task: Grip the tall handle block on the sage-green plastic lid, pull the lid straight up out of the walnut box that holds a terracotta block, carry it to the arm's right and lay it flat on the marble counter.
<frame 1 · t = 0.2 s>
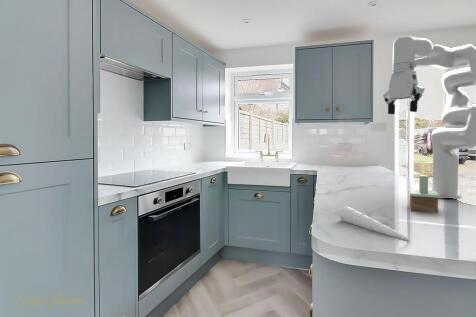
hand: (401, 112, 122), 37 cm above the table, tool pointing down, fingers open, 9 cm apart
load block: (422, 209, 111), point 1 cm above the table, touching box
lid: (423, 194, 111), point 6 cm above the table, touching box
box: (422, 210, 111), on the table
unicorn horn: (371, 230, 88), on the table
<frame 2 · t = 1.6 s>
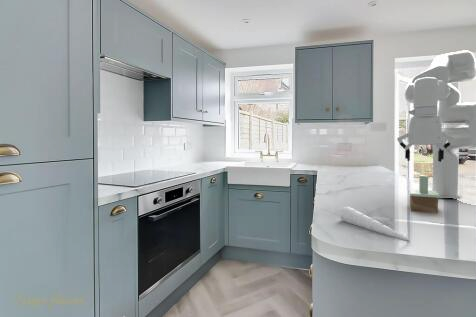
hand: (423, 161, 110), 18 cm above the table, tool pointing down, fingers open, 9 cm apart
nothing on the table moved.
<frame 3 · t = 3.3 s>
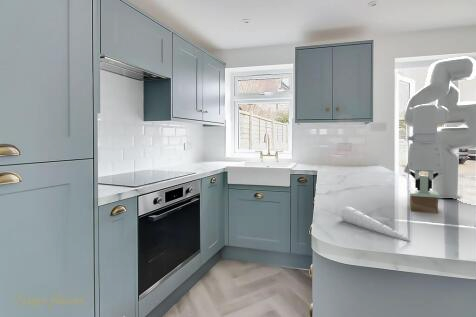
hand: (423, 190, 111), 8 cm above the table, tool pointing down, fingers closed on lid
lid: (423, 194, 111), point 6 cm above the table, touching gripper
everything else where it was.
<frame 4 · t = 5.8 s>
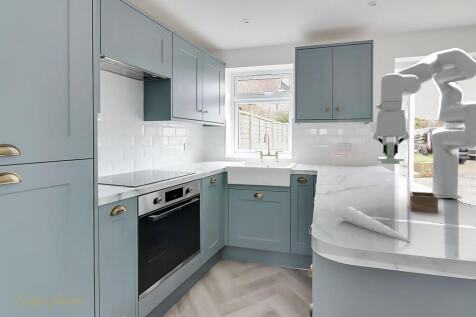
hand: (390, 155, 118), 20 cm above the table, tool pointing down, fingers closed on lid
lid: (390, 159, 118), point 18 cm above the table, touching gripper
everything else where it was.
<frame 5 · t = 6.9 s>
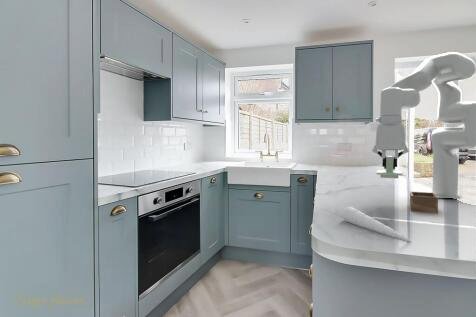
hand: (389, 168, 118), 15 cm above the table, tool pointing down, fingers closed on lid
lid: (389, 173, 119), point 13 cm above the table, touching gripper
everything else where it was.
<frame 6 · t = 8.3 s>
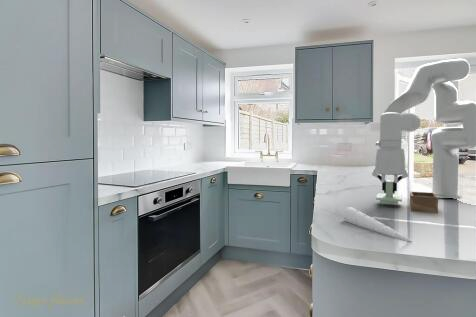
hand: (389, 192, 119), 6 cm above the table, tool pointing down, fingers closed on lid
lid: (389, 198, 119), point 3 cm above the table, touching gripper
everything else where it was.
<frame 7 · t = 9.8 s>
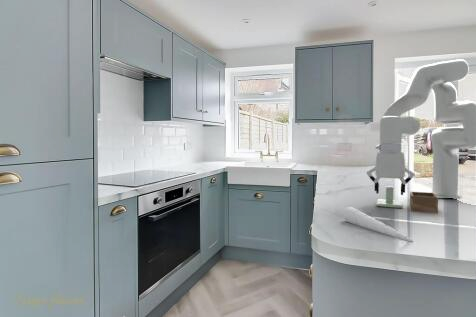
hand: (389, 193, 119), 5 cm above the table, tool pointing down, fingers open, 8 cm apart
lid: (389, 203, 119), point 1 cm above the table
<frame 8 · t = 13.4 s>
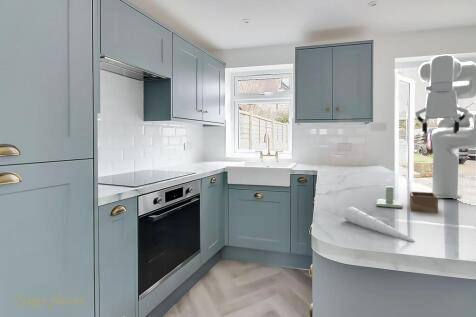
hand: (440, 133, 119), 28 cm above the table, tool pointing down, fingers open, 9 cm apart
at the end: lid inside the target area (0.1 cm from its centre), point 1.0 cm above the table; lid tilted 0°; lid touching table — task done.
